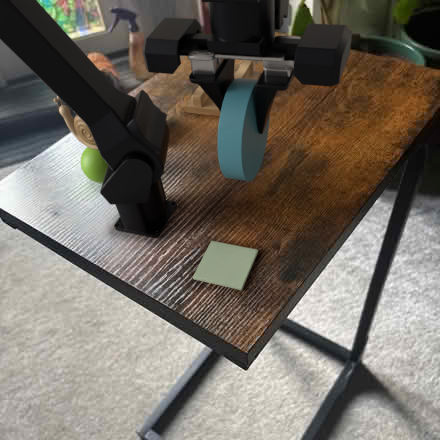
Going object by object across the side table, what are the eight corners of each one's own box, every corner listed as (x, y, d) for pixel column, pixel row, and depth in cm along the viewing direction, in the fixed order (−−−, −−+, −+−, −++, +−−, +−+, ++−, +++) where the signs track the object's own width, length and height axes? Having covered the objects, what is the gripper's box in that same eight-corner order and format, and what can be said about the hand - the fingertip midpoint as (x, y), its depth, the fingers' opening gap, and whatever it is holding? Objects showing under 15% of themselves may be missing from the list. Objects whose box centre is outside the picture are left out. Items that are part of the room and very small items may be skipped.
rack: (238, 118, 72) (237, 100, 70) (186, 112, 75) (183, 95, 72) (261, 78, 78) (260, 60, 76) (212, 74, 81) (210, 57, 79)
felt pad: (241, 290, 52) (241, 288, 51) (193, 279, 53) (192, 277, 53) (258, 251, 55) (258, 249, 54) (211, 242, 57) (211, 240, 56)
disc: (235, 175, 44) (253, 65, 42) (211, 172, 45) (227, 63, 43) (259, 185, 54) (274, 95, 52) (239, 182, 54) (253, 94, 52)
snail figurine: (98, 162, 69) (68, 85, 60) (132, 171, 67) (107, 93, 57) (75, 184, 67) (40, 108, 57) (110, 195, 64) (80, 117, 55)
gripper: (372, -77, 39) (350, 97, 51) (172, -73, 44) (196, 84, 56) (348, -24, 33) (330, 158, 45) (120, -26, 38) (159, 137, 50)
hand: (249, 130), depth 49 cm, fingers closed on disc, 2 cm apart
